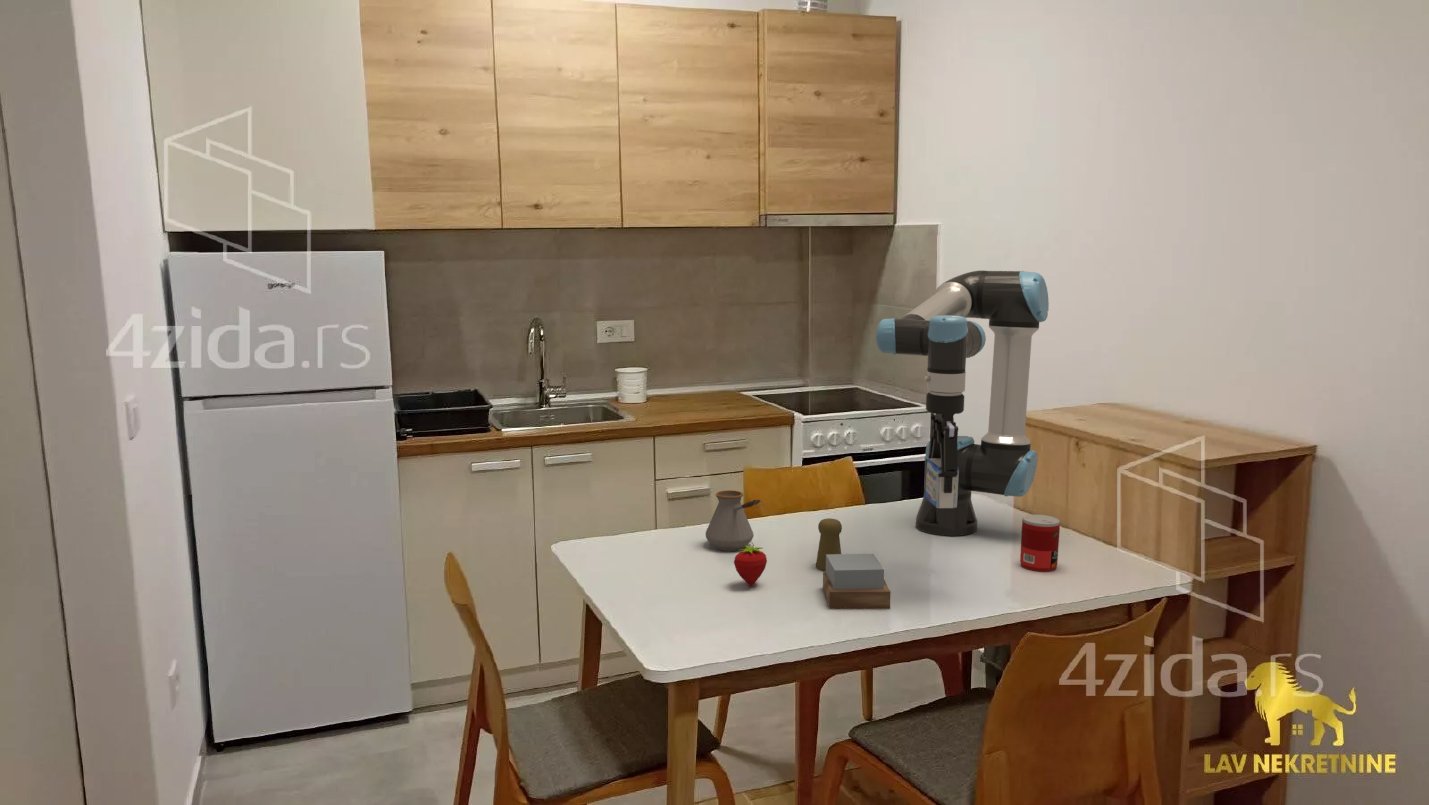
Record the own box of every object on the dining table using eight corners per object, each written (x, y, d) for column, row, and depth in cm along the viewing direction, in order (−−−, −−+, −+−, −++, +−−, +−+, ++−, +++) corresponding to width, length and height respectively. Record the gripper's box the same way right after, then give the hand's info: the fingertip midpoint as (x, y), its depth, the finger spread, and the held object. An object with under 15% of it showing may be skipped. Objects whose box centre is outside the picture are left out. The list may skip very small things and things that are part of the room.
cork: (825, 573, 224) (826, 524, 222) (810, 565, 229) (811, 518, 227) (848, 569, 226) (849, 521, 224) (832, 561, 232) (833, 514, 230)
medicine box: (924, 498, 213) (926, 458, 212) (945, 498, 214) (947, 457, 212) (936, 508, 206) (937, 466, 204) (957, 508, 206) (959, 466, 205)
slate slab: (825, 572, 213) (825, 554, 212) (872, 572, 214) (873, 553, 213) (834, 589, 203) (834, 570, 203) (883, 588, 204) (884, 569, 203)
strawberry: (727, 585, 216) (727, 539, 214) (755, 578, 220) (756, 533, 219) (744, 593, 211) (744, 546, 210) (773, 586, 216) (773, 540, 214)
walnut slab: (822, 590, 214) (823, 572, 214) (879, 590, 215) (880, 571, 214) (829, 611, 203) (830, 592, 202) (889, 611, 203) (890, 591, 202)
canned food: (1059, 573, 224) (1062, 524, 222) (1021, 570, 226) (1024, 522, 224) (1054, 562, 231) (1057, 515, 230) (1018, 560, 233) (1020, 513, 231)
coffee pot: (697, 542, 246) (697, 481, 243) (740, 536, 250) (740, 477, 248) (736, 568, 227) (736, 503, 224) (781, 562, 231) (782, 497, 229)
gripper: (916, 384, 216) (913, 489, 220) (938, 401, 195) (933, 516, 199) (952, 384, 216) (947, 489, 220) (977, 401, 195) (972, 516, 199)
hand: (941, 501), depth 210 cm, fingers closed on medicine box, 8 cm apart
